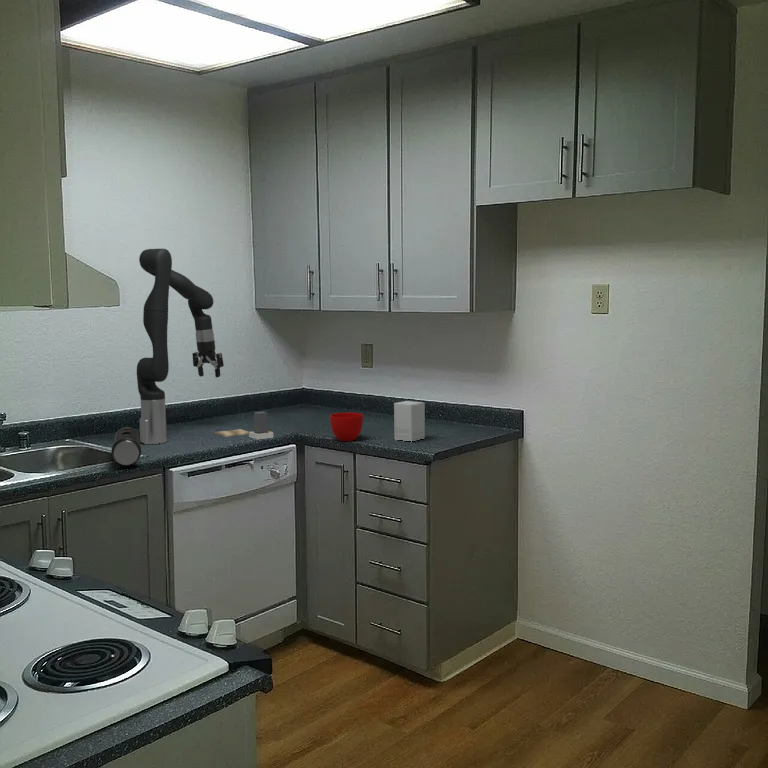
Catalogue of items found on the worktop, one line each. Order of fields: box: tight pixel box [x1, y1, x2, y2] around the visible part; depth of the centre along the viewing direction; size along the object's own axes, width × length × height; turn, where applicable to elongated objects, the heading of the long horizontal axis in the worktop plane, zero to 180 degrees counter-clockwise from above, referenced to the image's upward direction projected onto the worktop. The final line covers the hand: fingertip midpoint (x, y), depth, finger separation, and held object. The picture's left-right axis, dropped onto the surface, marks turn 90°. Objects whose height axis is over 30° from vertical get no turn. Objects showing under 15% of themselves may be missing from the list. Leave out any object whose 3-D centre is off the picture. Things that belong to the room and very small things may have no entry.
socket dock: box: [248, 430, 274, 440], centre depth 328 cm, size 7×7×3 cm
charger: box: [253, 411, 269, 434], centre depth 327 cm, size 4×4×10 cm
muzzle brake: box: [111, 426, 142, 467], centre depth 285 cm, size 10×28×10 cm, turn 17°
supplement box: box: [393, 400, 426, 443], centre depth 322 cm, size 9×9×15 cm
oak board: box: [213, 428, 250, 438], centre depth 336 cm, size 12×10×1 cm
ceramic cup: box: [329, 412, 364, 442], centre depth 325 cm, size 13×17×10 cm
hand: (209, 376), depth 350 cm, fingers open, 8 cm apart
